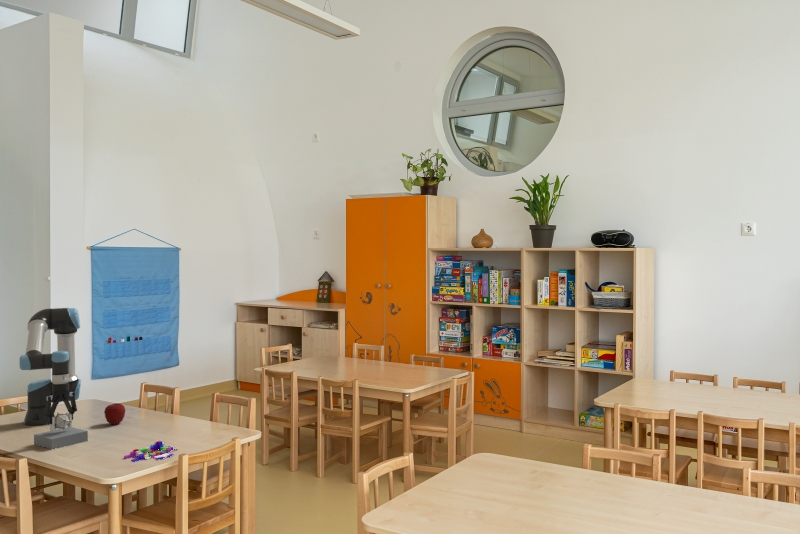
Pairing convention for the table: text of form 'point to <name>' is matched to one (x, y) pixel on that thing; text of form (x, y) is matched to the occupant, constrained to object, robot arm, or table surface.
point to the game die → (61, 421)
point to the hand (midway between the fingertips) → (61, 428)
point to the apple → (114, 413)
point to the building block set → (154, 447)
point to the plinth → (61, 437)
